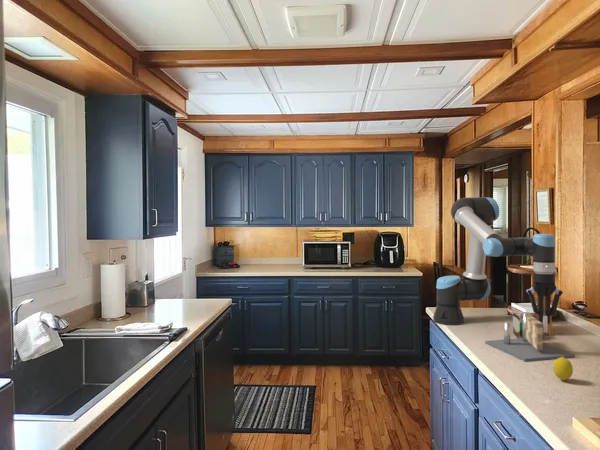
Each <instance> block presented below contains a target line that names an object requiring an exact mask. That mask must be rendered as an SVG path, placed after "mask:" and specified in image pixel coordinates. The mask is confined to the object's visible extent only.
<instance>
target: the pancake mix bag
mask: <svg viewBox="0 0 600 450" xmlns="http://www.w3.org/2000/svg"><path fill="white" fill-rule="evenodd" d="M534 273H535V272H534V271H533V270H532V271H531V272H530V275H531V278H532V280H533V274H534ZM536 298H537V299H536V300H537V301H536V305H537V309H538V294H537V293H536ZM543 315H546V314H545V296H544V299H543ZM535 318H536V319H537V320H538V321H539V315H538V314H536V313H535ZM552 320H553V318H552V315H551V316H550V324H547V333H546V332H543V335H545V336H551V335H553V332H554V330H553V321H552Z"/></svg>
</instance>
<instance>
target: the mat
mask: <svg viewBox="0 0 600 450" xmlns="http://www.w3.org/2000/svg"><path fill="white" fill-rule="evenodd" d="M484 343H485V344H486V345H488V346H489V347H490V346H491V347H492V348H495V349H497V350H499V351H502V353H503V352H504V353H506V354H508V355H510V356H512V357H514V358H515V359H518V360H521V361H522V362H525V363H526V362H535V361H547V360H556V359H558V358H561V357H564V358H566V359H569V358H575V357H576V355H575V354H574V353H572V352H570V351H566V350H564V349H561V348H558V347H555V346H554V345H551V344H547V343H545V342H543V341H542V350H537V349H536V348H535V347H534V346H533V345H532V344H531V343H530V342H525V341H523V338H517V337H516V338H510V345H506V344H504V339H495V340H494V339H493V340H485V342H484Z"/></svg>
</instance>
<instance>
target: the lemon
mask: <svg viewBox="0 0 600 450" xmlns="http://www.w3.org/2000/svg"><path fill="white" fill-rule="evenodd" d="M552 369H553V373H554V375H555V376H556V377H557V378H558V379H560V380H561V381H562V382H564V381H565V380H568V379H570V378H571V377H572V376H573V372H574V370H573V369H574V368H573V365H572V363H571V361H570V360H569V358H564V357H561V358H558V359H554V362H553V366H552Z"/></svg>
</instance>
